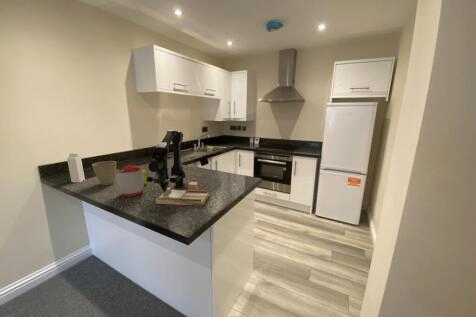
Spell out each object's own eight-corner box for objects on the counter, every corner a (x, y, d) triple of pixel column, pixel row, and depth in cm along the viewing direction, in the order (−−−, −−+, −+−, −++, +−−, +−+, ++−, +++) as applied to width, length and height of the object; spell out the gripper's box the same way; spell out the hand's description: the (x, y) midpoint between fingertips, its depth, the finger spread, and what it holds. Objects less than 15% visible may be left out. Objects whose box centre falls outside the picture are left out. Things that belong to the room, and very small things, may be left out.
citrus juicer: (130, 187, 138) (127, 160, 134) (150, 190, 133) (147, 162, 129) (110, 196, 123) (106, 166, 119) (132, 199, 119) (128, 168, 114)
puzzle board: (167, 194, 127) (166, 189, 126) (208, 195, 124) (208, 190, 124) (156, 203, 113) (155, 198, 113) (202, 205, 111) (202, 200, 110)
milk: (77, 180, 155) (71, 153, 150) (85, 179, 155) (80, 152, 151) (71, 182, 149) (65, 154, 144) (79, 182, 149) (74, 154, 145)
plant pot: (112, 179, 157) (109, 160, 153) (123, 182, 150) (120, 162, 146) (91, 185, 144) (87, 164, 140) (102, 188, 137) (98, 166, 133)
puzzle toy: (142, 180, 153) (141, 168, 151) (147, 183, 146) (145, 171, 144) (128, 183, 147) (126, 171, 144) (132, 187, 140) (131, 173, 137)
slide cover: (169, 191, 125) (169, 186, 124) (186, 192, 124) (186, 186, 123) (161, 198, 114) (161, 193, 113) (179, 199, 113) (179, 193, 112)
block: (191, 190, 134) (190, 181, 133) (198, 190, 134) (197, 182, 132) (188, 192, 129) (188, 184, 128) (196, 193, 129) (195, 184, 127)
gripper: (139, 170, 109) (142, 196, 112) (171, 171, 107) (173, 198, 110) (150, 165, 120) (152, 189, 123) (179, 166, 118) (181, 190, 121)
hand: (164, 191), depth 119 cm, fingers closed
